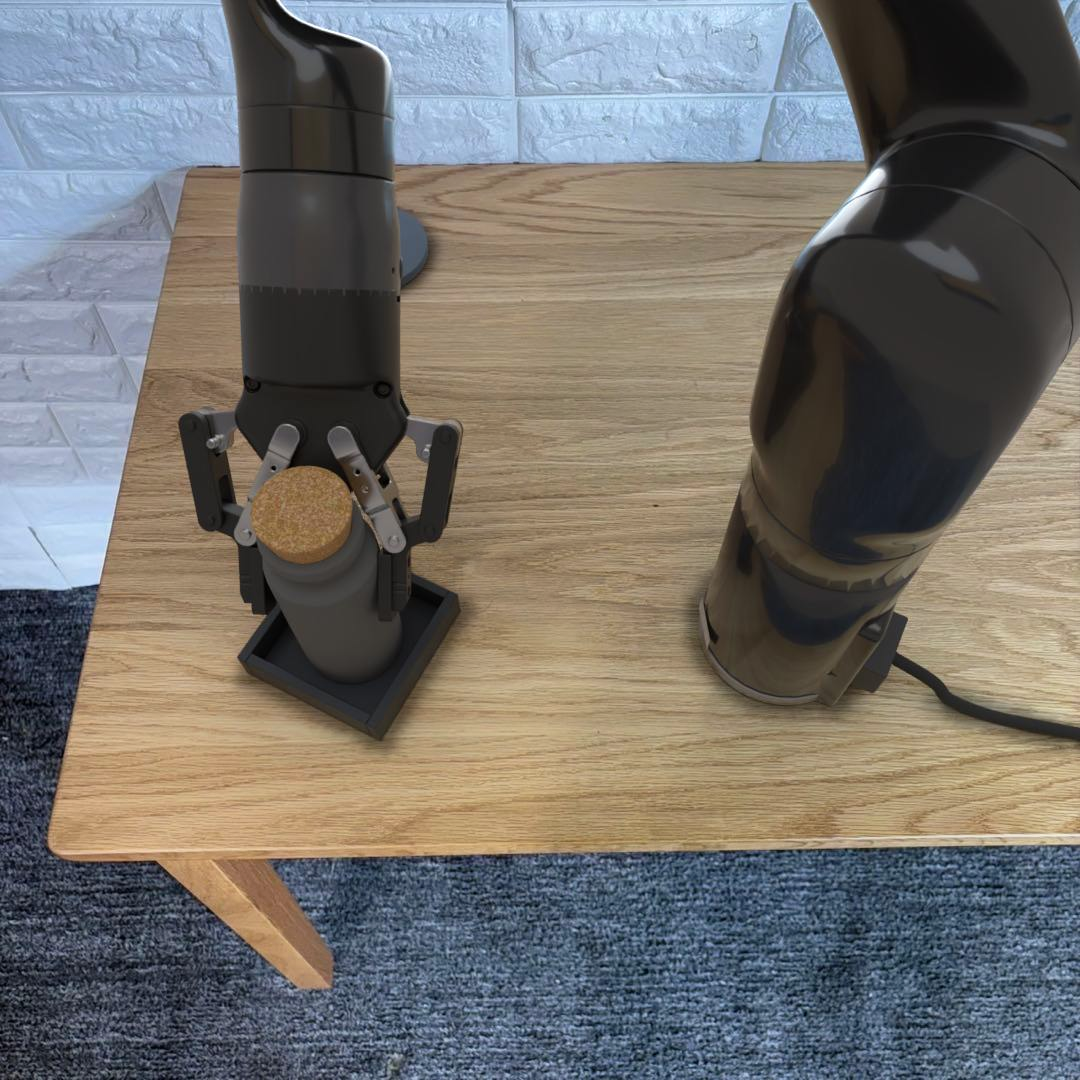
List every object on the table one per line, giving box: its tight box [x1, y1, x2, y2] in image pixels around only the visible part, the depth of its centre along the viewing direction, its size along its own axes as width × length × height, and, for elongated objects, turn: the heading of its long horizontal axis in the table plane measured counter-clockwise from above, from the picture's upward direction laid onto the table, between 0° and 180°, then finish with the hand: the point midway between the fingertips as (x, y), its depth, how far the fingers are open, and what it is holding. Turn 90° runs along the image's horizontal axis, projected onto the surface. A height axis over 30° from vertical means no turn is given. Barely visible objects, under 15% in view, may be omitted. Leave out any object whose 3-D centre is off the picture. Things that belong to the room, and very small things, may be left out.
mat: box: [397, 208, 429, 288], centre depth 75 cm, size 8×8×1 cm
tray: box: [236, 571, 462, 743], centre depth 58 cm, size 9×9×2 cm
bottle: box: [250, 466, 403, 684], centre depth 53 cm, size 6×6×15 cm
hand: (327, 612), depth 52 cm, fingers closed on bottle, 6 cm apart
